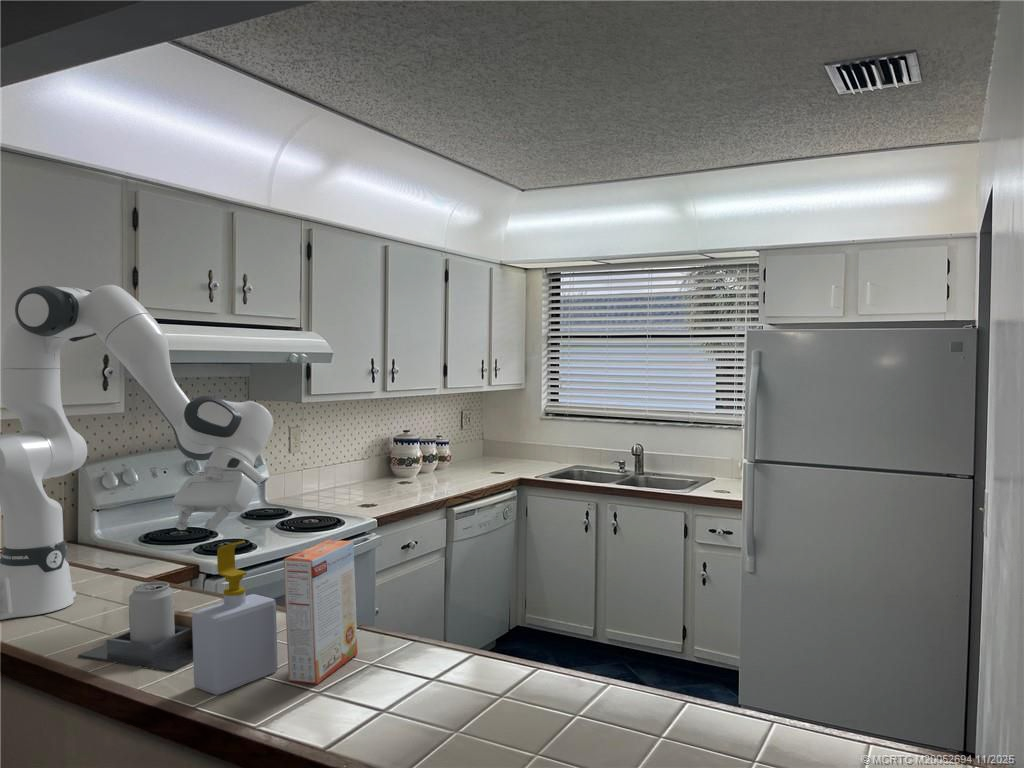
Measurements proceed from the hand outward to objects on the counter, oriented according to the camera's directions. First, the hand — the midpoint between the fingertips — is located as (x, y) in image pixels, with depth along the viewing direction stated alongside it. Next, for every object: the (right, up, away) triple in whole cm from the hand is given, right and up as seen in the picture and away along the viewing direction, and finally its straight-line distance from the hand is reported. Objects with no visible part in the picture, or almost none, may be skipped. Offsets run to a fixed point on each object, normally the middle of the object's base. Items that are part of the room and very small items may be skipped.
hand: (194, 528), depth 158 cm
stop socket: (-3, -20, -12) cm, 24 cm away
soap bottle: (+18, -21, -26) cm, 38 cm away
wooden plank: (0, -20, -6) cm, 21 cm away
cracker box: (+31, -20, -22) cm, 43 cm away
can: (-3, -20, -12) cm, 24 cm away
